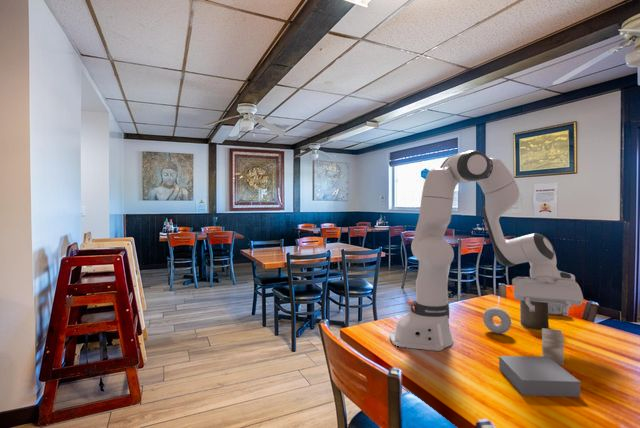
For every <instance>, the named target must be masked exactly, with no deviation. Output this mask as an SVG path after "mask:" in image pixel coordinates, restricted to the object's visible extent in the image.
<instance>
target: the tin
mask: <svg viewBox="0 0 640 428" xmlns="http://www.w3.org/2000/svg"><path fill="white" fill-rule="evenodd" d="M563 308H566V306H565V304H556V303H548V315H550V316H551V315H552V316H564V315H563V313H562V309H563Z"/></svg>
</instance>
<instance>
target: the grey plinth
mask: <svg viewBox="0 0 640 428" xmlns="http://www.w3.org/2000/svg"><path fill="white" fill-rule="evenodd" d="M498 364H499V365H498V369H499V370H500V372H501V373H502V374H503V375H504V377H506V379H508V381H509V382H510V383H511V384H512V385H513V386H514V388H516V390H517V391H518V392H519V393H520V394H521V396H532V397H534V396H535V397H536V396H537V397H538V396H539V397H561V398H563V397H567V398H581V381H580V380H579V379H577V378H576V377H575V376H574V375H572V374H570V372H569V371H567V370H566V369H565V368H564V367H562V366H561V365H560V364H557V363H556V362H554V361H553V360H552V359H550V358H549V357H543V356H525V355H524V356H523V355H522V356H521V355H520V356H517V355H498Z"/></svg>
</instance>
